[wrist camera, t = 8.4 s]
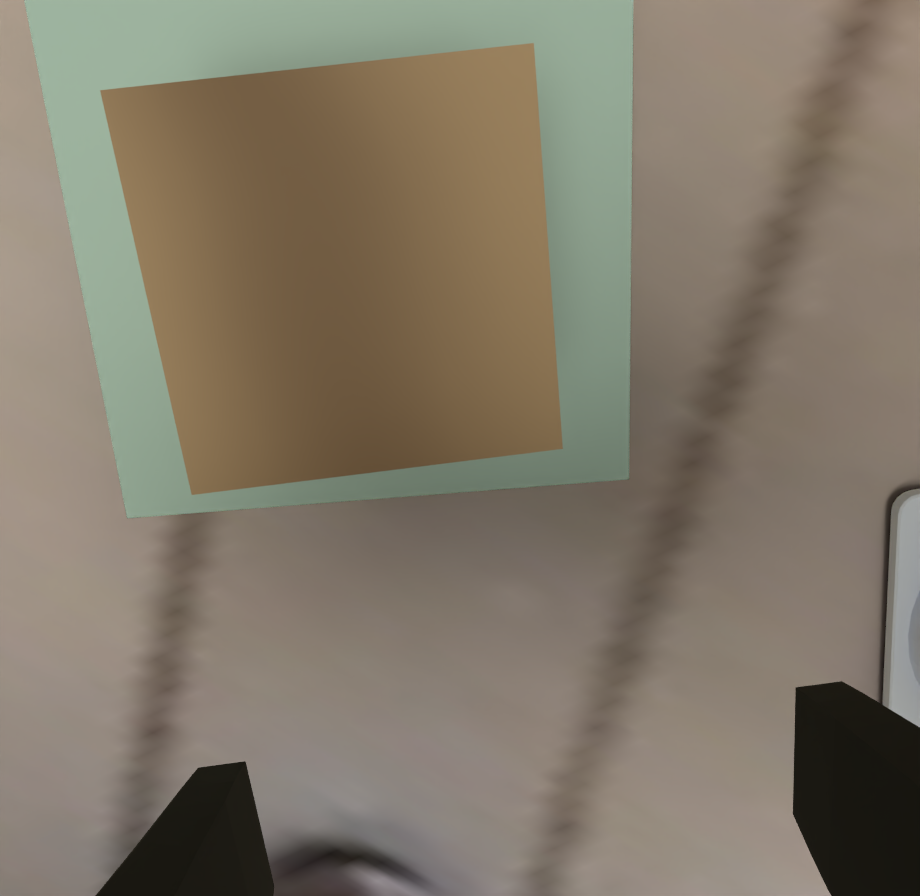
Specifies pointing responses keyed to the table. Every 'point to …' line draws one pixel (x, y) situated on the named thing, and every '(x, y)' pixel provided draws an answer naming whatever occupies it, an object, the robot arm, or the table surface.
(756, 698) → the table surface
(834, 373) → the table surface
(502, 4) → the riser block
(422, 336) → the walnut block
